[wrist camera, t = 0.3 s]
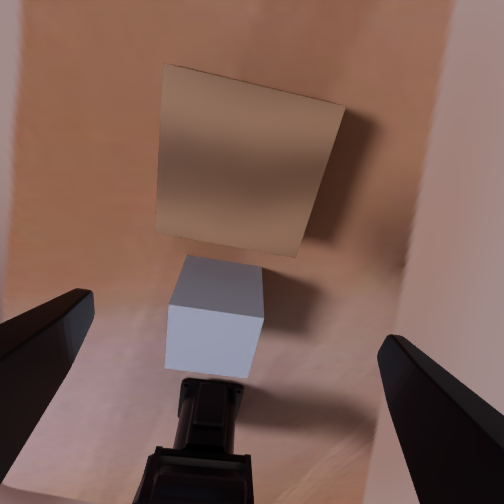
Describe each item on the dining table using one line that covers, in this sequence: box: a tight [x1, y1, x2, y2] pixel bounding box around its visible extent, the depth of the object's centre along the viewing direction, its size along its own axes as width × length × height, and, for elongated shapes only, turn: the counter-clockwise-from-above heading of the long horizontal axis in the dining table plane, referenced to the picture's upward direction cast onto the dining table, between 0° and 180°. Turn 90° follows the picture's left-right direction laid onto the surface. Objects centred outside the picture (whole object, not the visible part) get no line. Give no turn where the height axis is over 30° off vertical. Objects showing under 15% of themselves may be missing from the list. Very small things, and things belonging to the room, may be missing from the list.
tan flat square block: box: [155, 63, 346, 258], centre depth 18 cm, size 9×9×4 cm
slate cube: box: [165, 255, 264, 378], centre depth 23 cm, size 6×6×6 cm
